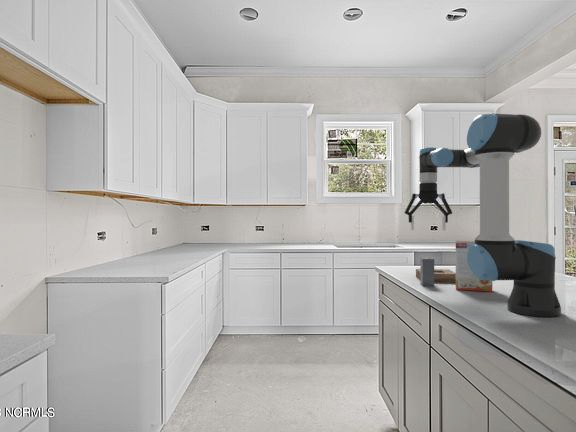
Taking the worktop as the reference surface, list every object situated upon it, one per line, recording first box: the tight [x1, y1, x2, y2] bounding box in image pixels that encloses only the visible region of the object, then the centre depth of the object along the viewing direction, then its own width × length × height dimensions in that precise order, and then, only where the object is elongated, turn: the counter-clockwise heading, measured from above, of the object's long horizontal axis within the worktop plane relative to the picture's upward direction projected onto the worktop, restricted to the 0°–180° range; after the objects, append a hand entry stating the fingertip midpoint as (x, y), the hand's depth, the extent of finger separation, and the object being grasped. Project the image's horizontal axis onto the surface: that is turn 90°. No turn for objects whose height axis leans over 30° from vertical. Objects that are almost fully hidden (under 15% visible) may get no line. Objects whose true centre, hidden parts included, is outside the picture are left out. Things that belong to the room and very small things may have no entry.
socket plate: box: [415, 268, 456, 284], centre depth 195 cm, size 16×16×4 cm
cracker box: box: [455, 239, 493, 293], centre depth 170 cm, size 14×6×21 cm, turn 68°
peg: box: [419, 257, 435, 287], centre depth 181 cm, size 5×5×12 cm
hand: (427, 230), depth 181 cm, fingers open, 13 cm apart
